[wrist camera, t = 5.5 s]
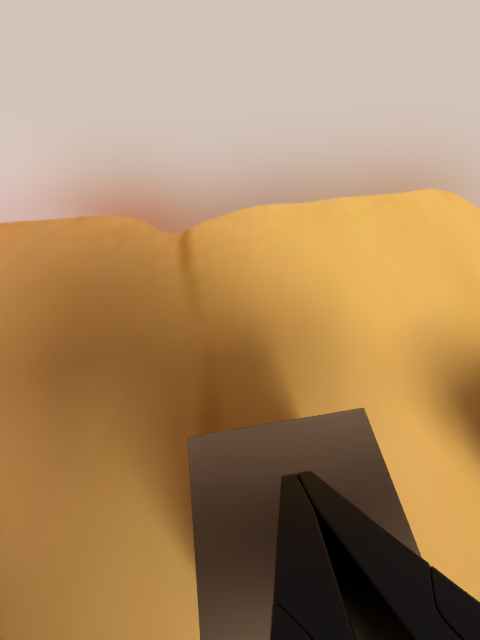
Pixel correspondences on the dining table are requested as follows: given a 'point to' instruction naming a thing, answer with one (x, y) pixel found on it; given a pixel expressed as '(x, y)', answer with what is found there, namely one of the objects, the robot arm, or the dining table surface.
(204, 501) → the plain block
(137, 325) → the dining table surface
